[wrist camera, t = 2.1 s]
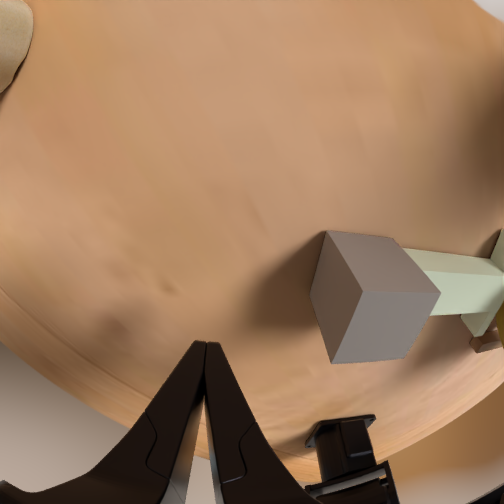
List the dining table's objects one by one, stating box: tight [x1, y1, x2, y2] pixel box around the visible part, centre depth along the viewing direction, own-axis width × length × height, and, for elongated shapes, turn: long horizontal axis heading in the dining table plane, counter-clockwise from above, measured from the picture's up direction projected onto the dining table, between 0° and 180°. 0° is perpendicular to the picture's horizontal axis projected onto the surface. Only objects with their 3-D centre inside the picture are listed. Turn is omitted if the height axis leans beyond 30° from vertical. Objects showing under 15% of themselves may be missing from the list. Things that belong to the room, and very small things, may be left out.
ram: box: [309, 229, 504, 364], centre depth 13 cm, size 8×15×5 cm, turn 83°
